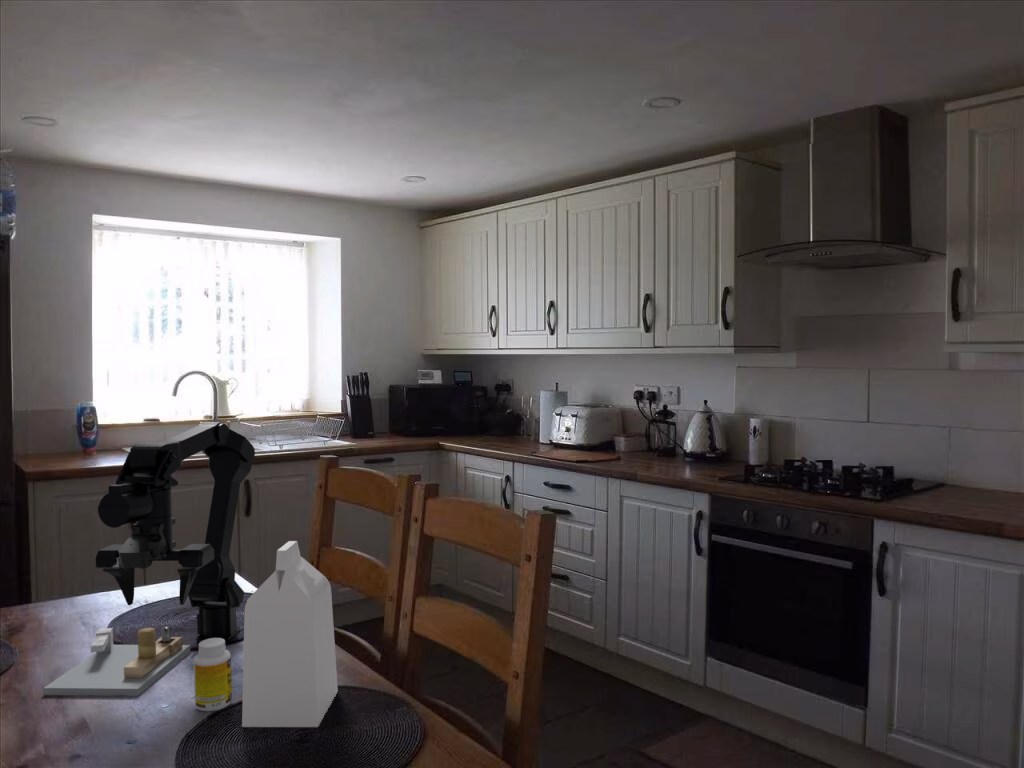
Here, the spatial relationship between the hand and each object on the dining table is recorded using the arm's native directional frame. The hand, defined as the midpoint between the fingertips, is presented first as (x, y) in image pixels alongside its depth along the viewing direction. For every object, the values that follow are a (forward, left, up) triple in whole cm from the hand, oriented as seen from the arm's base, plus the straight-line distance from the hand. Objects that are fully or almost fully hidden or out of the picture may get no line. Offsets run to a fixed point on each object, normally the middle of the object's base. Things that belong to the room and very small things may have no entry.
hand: (156, 604), depth 139 cm
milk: (-28, +13, -13) cm, 33 cm away
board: (+7, -1, -12) cm, 14 cm away
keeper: (+13, -5, -11) cm, 18 cm away
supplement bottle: (-15, +12, -13) cm, 23 cm away
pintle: (+2, -7, -11) cm, 14 cm away
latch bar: (+2, -2, -11) cm, 11 cm away
